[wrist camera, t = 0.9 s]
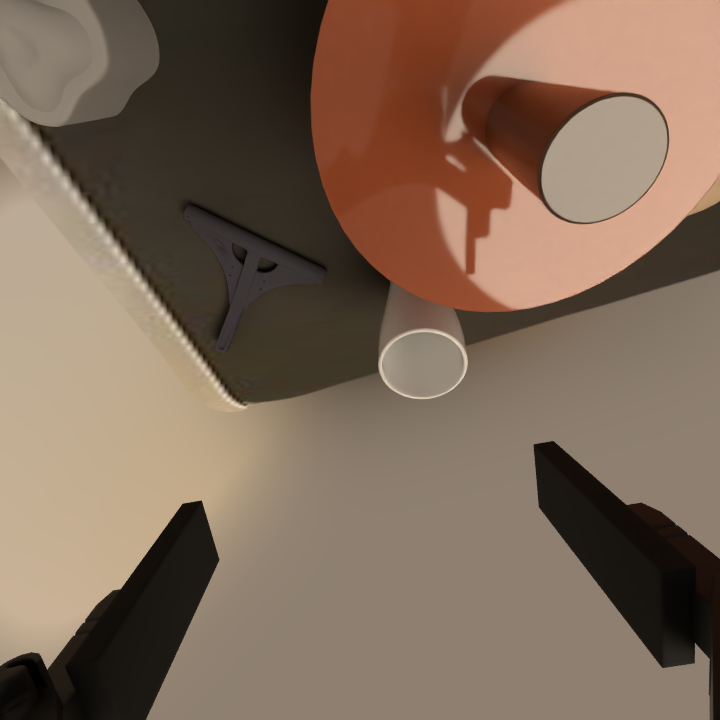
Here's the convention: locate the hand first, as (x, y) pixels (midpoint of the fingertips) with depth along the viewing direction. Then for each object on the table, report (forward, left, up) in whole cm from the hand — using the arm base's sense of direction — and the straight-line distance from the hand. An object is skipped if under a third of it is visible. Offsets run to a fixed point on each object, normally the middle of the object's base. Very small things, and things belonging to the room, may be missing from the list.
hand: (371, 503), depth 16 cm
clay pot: (-12, +6, -30) cm, 32 cm away
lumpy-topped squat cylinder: (-18, -25, -30) cm, 43 cm away
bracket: (+6, -16, -30) cm, 35 cm away
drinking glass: (+4, +3, -30) cm, 30 cm away
